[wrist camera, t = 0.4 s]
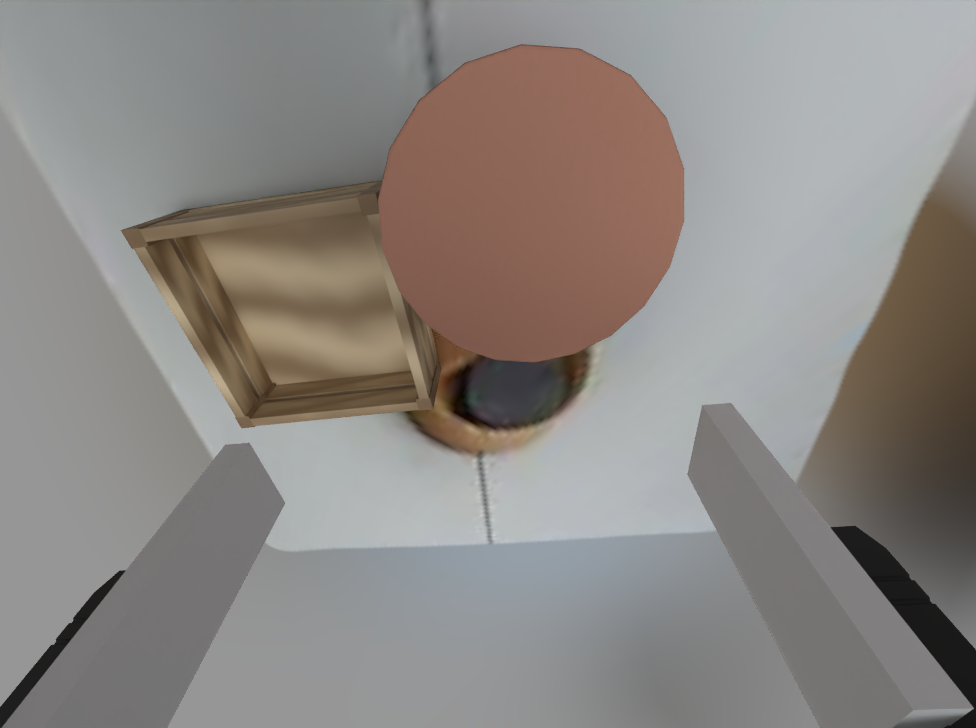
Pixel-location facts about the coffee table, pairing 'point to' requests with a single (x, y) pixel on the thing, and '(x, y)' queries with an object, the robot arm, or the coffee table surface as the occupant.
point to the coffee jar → (531, 203)
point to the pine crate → (293, 305)
